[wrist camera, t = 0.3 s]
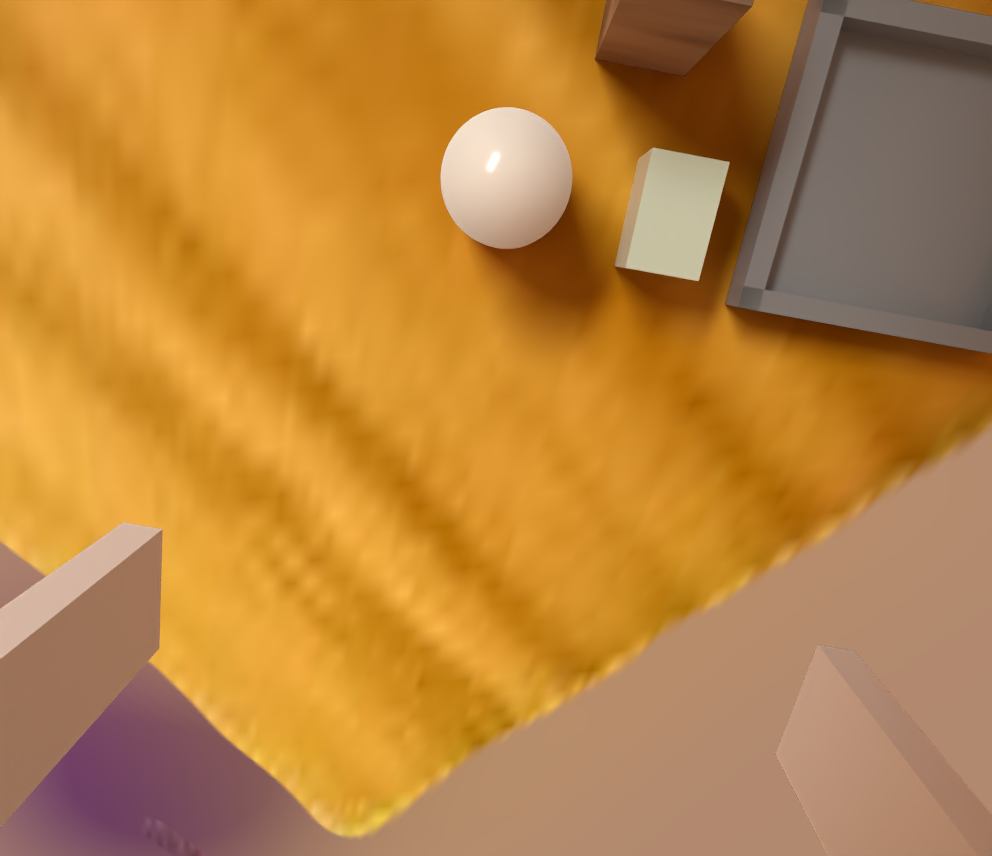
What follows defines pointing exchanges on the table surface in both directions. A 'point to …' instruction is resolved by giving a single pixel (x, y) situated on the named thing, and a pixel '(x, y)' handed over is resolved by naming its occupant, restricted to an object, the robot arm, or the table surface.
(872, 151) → the tray
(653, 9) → the walnut block
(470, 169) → the glossy white capsule
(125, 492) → the table surface
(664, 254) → the cream box
